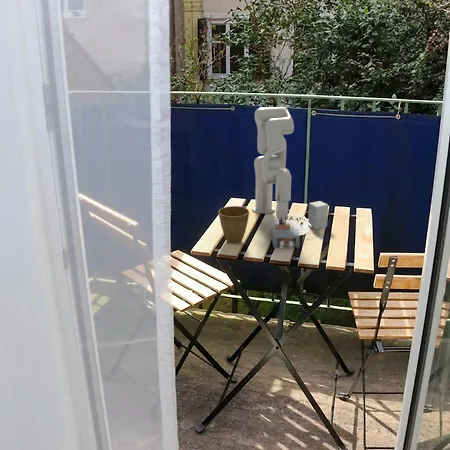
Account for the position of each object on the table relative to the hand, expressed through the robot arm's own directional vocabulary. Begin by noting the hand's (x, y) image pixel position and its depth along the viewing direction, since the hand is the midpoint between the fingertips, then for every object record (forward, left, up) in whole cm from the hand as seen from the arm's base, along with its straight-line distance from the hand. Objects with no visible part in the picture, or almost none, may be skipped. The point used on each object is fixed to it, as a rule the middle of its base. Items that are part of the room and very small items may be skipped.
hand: (281, 231), depth 287 cm
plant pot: (+9, -25, -2) cm, 27 cm away
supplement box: (-10, +20, -2) cm, 22 cm away
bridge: (+9, 0, -1) cm, 10 cm away
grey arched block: (+9, 0, -2) cm, 9 cm away
